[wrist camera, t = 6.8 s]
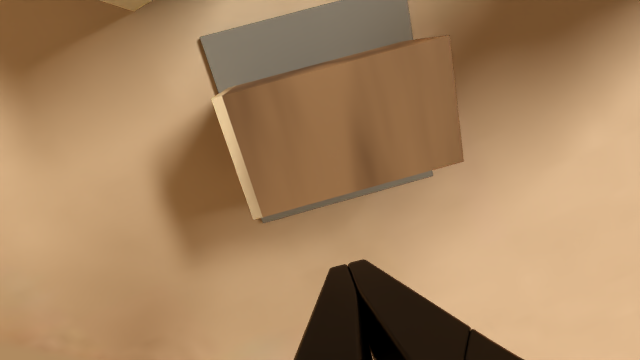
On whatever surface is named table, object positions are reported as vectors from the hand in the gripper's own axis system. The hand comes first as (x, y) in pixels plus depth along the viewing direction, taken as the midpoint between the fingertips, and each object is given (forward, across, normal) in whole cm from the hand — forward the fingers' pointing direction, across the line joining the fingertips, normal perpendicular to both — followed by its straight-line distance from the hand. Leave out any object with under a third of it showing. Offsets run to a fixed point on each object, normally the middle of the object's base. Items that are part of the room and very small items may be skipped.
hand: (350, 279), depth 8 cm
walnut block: (+9, +3, -2) cm, 10 cm away
